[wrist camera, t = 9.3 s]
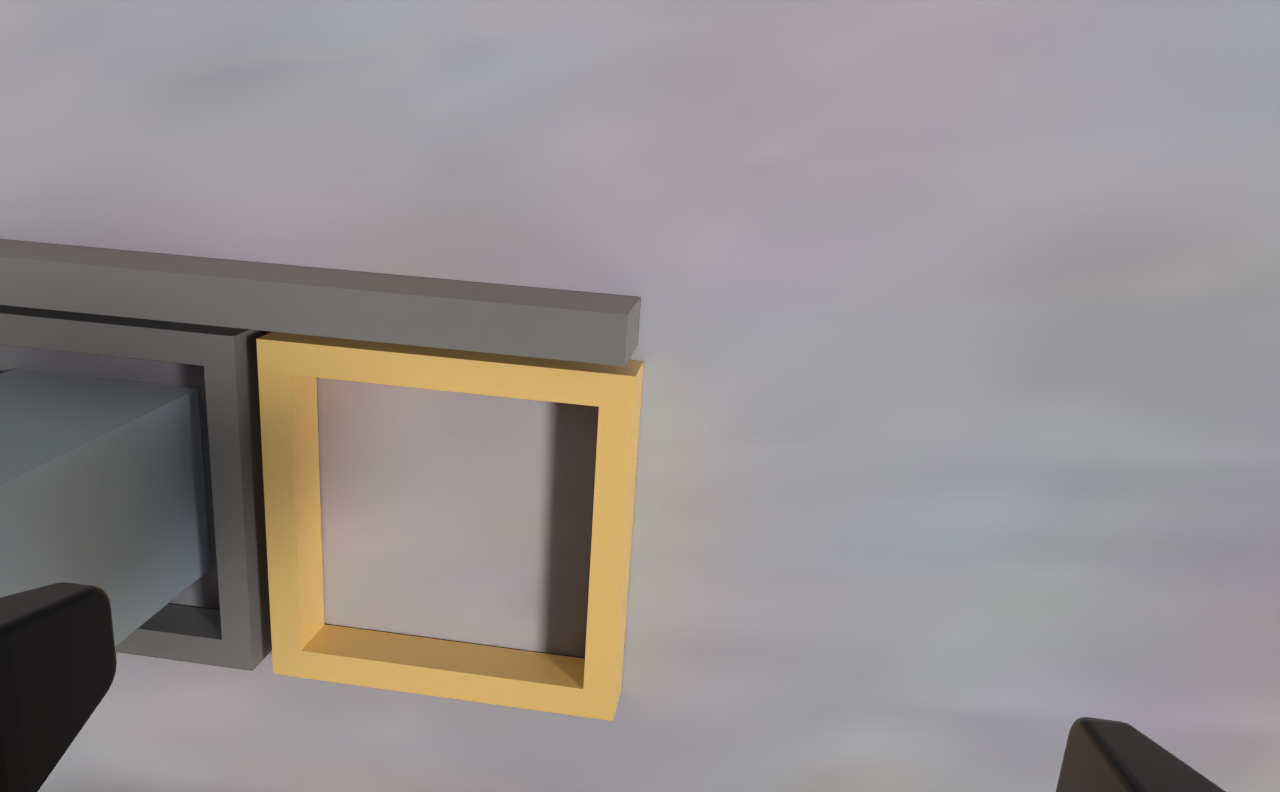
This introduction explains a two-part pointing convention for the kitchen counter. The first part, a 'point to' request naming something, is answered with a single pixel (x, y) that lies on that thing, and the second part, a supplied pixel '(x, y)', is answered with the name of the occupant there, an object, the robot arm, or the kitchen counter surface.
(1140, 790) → the robot arm
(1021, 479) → the kitchen counter surface
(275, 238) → the kitchen counter surface
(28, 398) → the blue-grey box
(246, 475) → the cubby shelf with drawer
